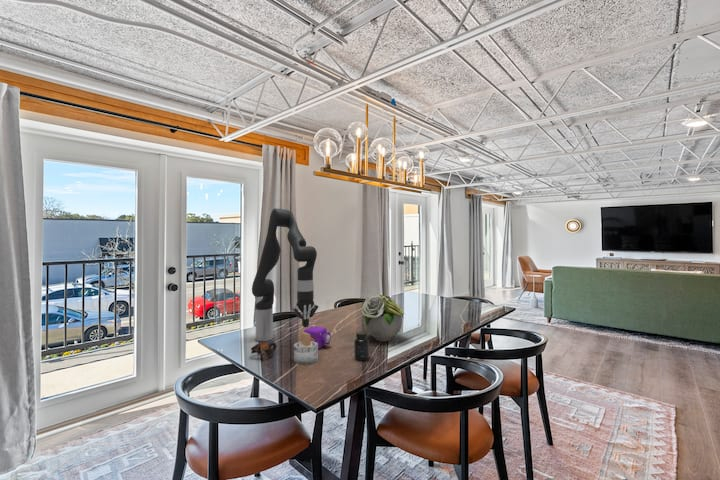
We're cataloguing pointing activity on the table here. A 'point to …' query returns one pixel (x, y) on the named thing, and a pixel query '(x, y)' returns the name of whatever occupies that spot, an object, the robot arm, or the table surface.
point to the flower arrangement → (382, 317)
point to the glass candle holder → (305, 353)
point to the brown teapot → (264, 347)
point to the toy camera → (319, 335)
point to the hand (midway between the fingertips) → (305, 326)
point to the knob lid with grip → (305, 340)
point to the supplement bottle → (361, 346)
